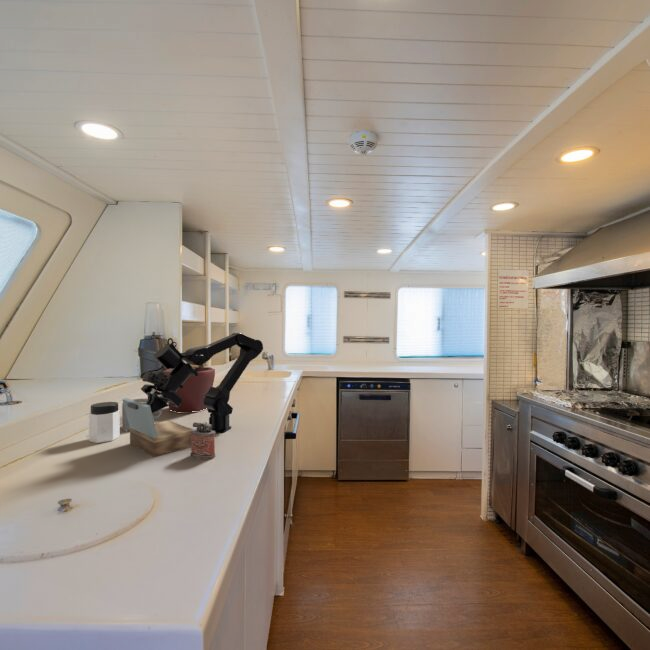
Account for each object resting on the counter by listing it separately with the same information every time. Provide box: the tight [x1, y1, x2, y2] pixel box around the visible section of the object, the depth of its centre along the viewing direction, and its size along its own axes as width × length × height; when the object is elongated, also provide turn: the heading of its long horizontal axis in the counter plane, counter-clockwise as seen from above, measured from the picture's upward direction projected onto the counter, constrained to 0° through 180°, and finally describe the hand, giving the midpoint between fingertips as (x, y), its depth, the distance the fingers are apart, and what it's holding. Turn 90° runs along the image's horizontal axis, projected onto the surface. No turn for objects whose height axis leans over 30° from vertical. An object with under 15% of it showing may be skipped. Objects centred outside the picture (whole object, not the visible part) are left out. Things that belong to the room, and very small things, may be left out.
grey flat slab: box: [122, 397, 158, 439], centre depth 110 cm, size 2×18×10 cm, turn 50°
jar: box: [88, 401, 121, 444], centre depth 121 cm, size 9×8×12 cm
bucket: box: [162, 360, 216, 412], centre depth 166 cm, size 24×22×25 cm
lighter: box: [190, 421, 216, 460], centre depth 105 cm, size 8×3×10 cm, turn 71°
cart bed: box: [129, 420, 195, 457], centre depth 115 cm, size 13×18×5 cm
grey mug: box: [121, 398, 162, 431], centre depth 137 cm, size 13×10×10 cm
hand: (141, 416), depth 111 cm, fingers closed, pressing on grey flat slab
